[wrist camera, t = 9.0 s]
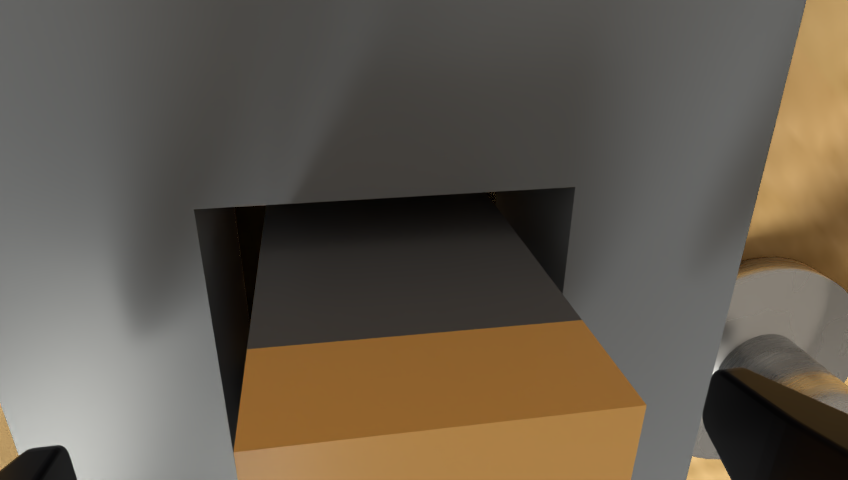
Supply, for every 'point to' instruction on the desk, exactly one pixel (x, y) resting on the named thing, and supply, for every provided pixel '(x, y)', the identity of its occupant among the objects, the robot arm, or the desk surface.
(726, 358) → the post
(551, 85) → the frame
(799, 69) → the desk surface
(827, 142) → the desk surface
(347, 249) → the block
